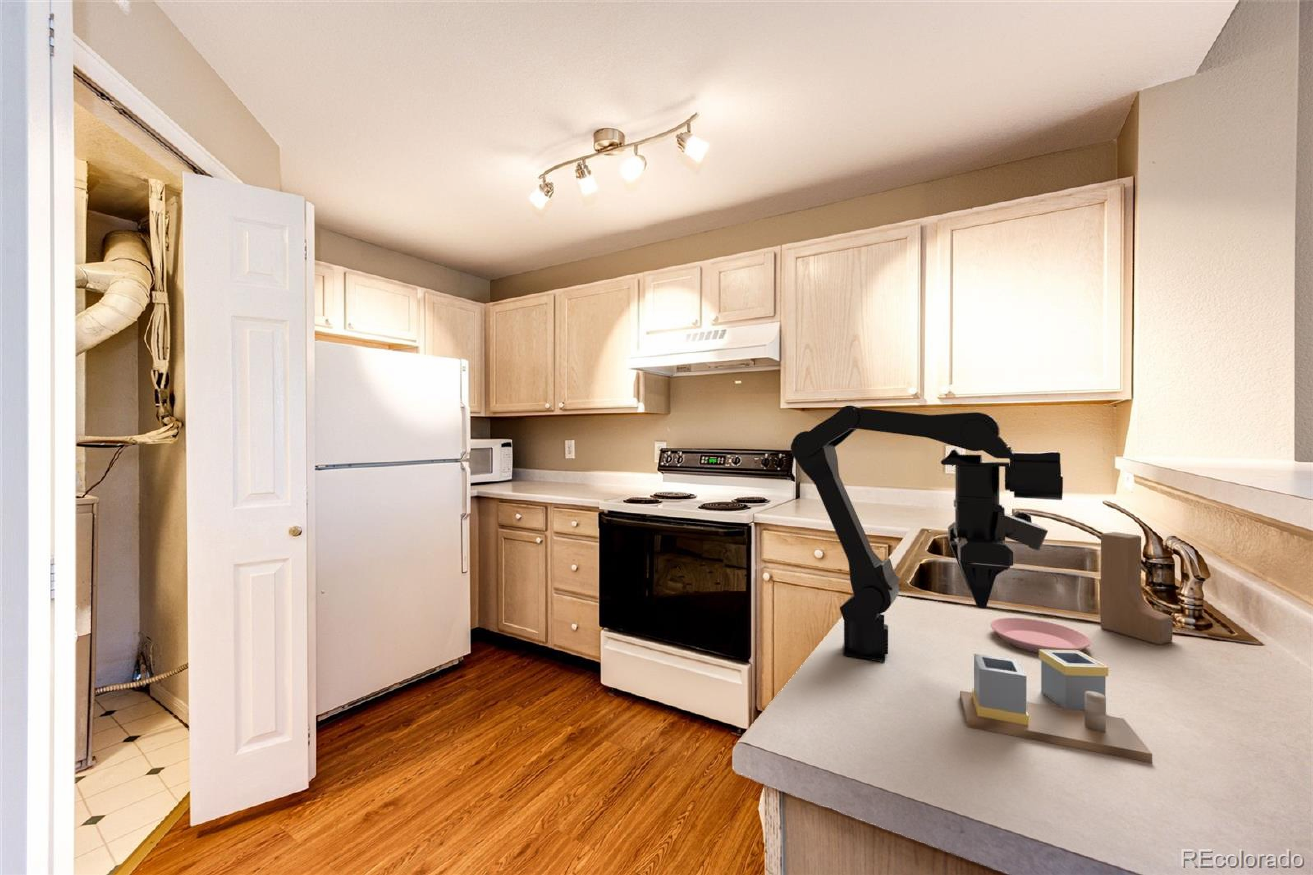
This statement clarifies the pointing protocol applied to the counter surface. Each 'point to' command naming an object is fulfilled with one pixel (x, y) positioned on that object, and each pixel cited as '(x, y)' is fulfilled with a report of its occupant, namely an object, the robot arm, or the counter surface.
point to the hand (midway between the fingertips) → (976, 598)
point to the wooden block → (1128, 592)
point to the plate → (1039, 635)
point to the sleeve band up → (1070, 677)
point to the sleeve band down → (1000, 689)
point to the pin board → (1068, 727)
